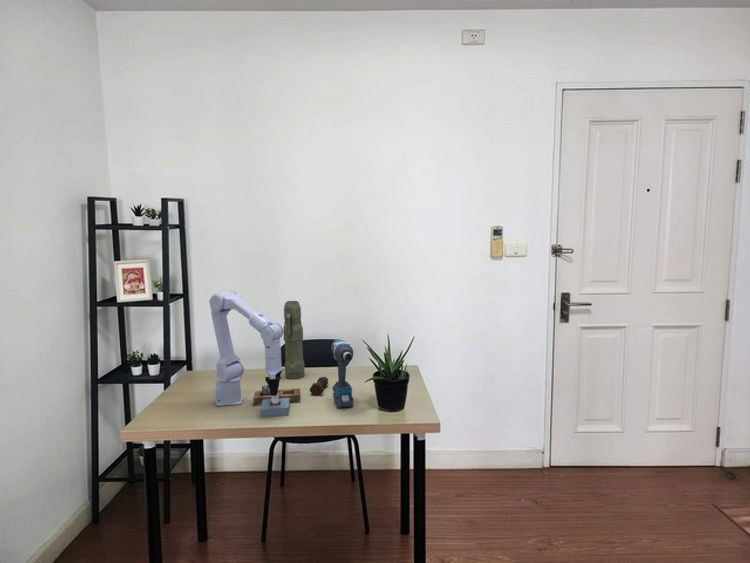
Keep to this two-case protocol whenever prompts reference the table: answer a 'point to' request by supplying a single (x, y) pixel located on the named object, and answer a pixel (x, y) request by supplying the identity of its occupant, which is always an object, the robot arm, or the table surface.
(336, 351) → the impact wrench
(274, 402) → the steel pin
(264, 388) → the black pin
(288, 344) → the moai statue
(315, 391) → the bolt
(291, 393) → the rack
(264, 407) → the socket block
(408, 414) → the table surface
